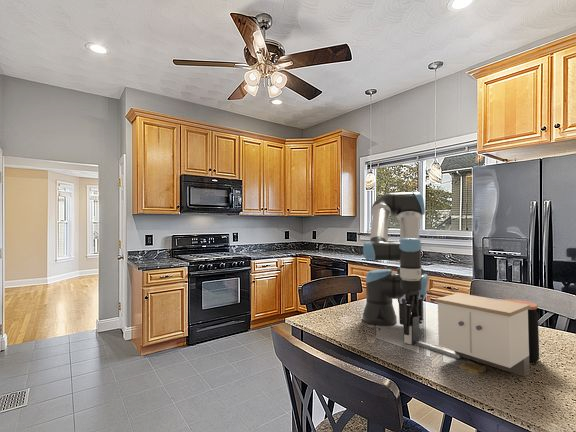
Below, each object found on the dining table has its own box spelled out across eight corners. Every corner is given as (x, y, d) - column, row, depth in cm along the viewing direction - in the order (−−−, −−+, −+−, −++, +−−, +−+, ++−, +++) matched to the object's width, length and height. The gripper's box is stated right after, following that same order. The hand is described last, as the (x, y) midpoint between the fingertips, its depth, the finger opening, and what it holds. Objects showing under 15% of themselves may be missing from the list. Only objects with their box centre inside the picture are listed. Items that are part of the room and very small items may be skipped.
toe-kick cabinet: (435, 361, 102) (434, 299, 103) (459, 350, 111) (458, 293, 112) (511, 388, 85) (509, 313, 86) (532, 372, 94) (530, 304, 95)
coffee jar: (492, 352, 110) (490, 299, 110) (520, 351, 111) (519, 298, 111) (516, 365, 99) (515, 307, 100) (548, 364, 100) (546, 306, 101)
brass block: (460, 369, 97) (460, 364, 97) (468, 365, 100) (468, 361, 100) (477, 376, 93) (477, 370, 93) (485, 371, 96) (485, 366, 96)
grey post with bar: (403, 342, 120) (403, 315, 120) (410, 339, 122) (409, 313, 122) (457, 360, 103) (457, 329, 104) (463, 357, 106) (463, 326, 106)
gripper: (406, 282, 112) (407, 350, 111) (432, 278, 122) (433, 340, 121) (388, 280, 118) (389, 343, 117) (414, 275, 128) (415, 334, 127)
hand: (411, 341), depth 119 cm, fingers closed on grey post with bar, 4 cm apart
